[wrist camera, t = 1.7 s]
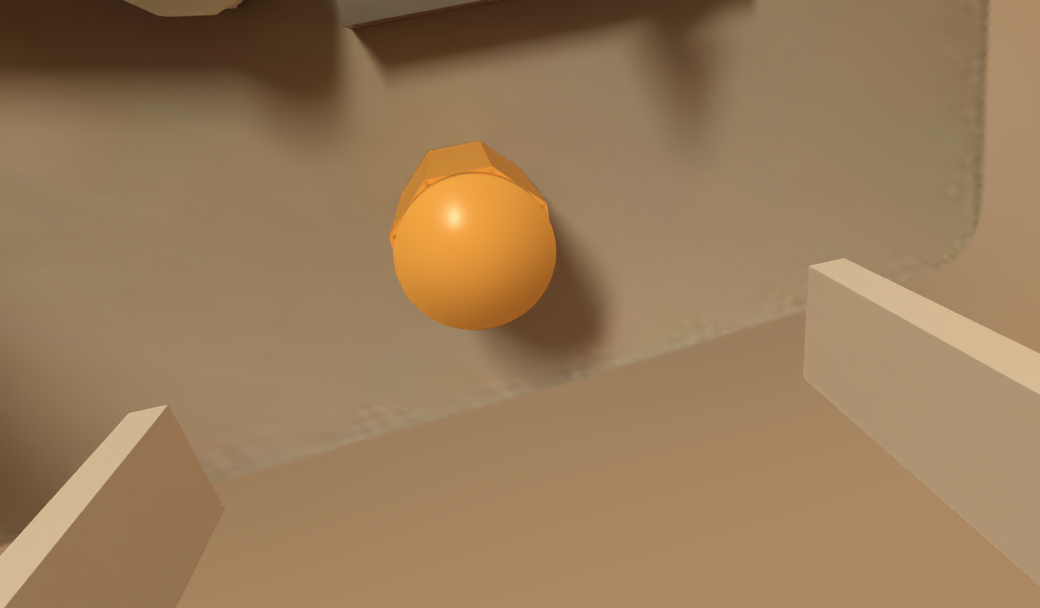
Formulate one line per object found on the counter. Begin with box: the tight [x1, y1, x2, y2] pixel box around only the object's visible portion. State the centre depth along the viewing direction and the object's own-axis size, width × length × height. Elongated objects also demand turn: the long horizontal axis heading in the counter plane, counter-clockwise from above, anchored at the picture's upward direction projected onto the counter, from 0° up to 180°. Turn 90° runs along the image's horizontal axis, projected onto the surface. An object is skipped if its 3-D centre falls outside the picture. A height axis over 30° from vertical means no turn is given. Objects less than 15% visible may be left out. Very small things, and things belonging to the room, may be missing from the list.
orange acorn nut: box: [389, 141, 556, 330], centre depth 22 cm, size 6×6×7 cm
